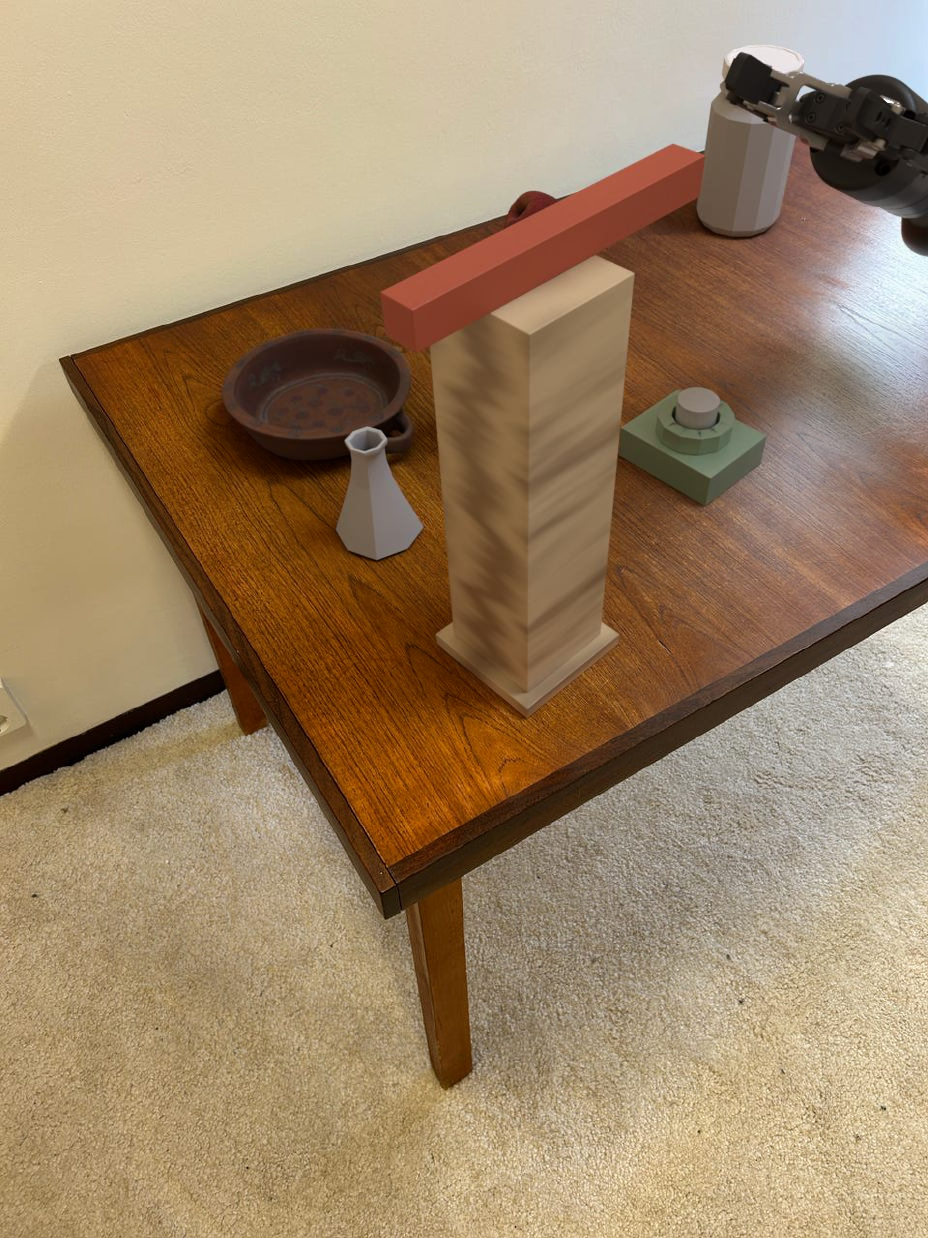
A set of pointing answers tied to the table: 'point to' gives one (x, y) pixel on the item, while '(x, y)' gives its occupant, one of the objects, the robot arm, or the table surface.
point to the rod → (538, 248)
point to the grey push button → (697, 408)
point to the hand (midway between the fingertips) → (792, 87)
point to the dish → (320, 392)
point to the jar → (745, 157)
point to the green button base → (691, 450)
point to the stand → (532, 479)
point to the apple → (528, 206)
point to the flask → (374, 501)
